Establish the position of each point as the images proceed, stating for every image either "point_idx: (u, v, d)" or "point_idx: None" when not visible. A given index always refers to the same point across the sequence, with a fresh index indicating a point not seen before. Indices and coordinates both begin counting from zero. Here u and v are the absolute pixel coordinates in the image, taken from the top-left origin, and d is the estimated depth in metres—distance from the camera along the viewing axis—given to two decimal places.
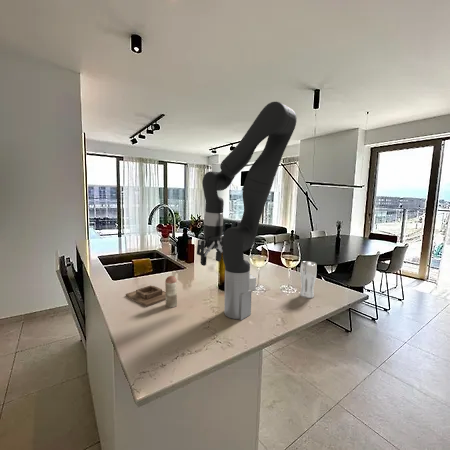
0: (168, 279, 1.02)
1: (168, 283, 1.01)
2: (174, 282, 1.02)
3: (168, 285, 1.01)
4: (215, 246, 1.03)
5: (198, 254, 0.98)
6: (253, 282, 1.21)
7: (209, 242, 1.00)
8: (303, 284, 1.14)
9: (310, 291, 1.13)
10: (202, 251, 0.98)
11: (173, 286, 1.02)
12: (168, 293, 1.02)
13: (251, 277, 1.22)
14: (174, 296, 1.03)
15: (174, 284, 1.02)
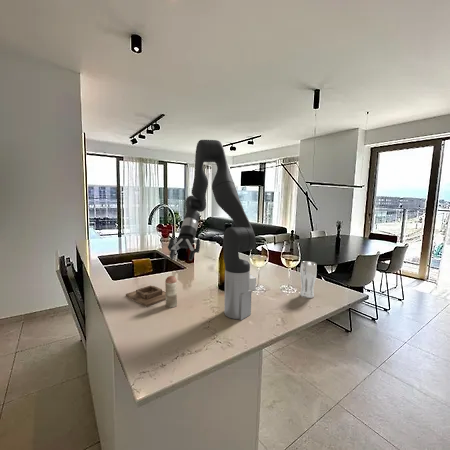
0: (168, 279, 1.02)
1: (168, 283, 1.01)
2: (174, 282, 1.02)
3: (168, 285, 1.01)
4: (185, 244, 1.17)
5: None
6: (253, 282, 1.21)
7: (179, 240, 1.19)
8: (303, 284, 1.14)
9: (310, 291, 1.13)
10: (169, 244, 1.18)
11: (173, 286, 1.02)
12: (168, 293, 1.02)
13: (251, 277, 1.22)
14: (174, 296, 1.03)
15: (174, 284, 1.02)
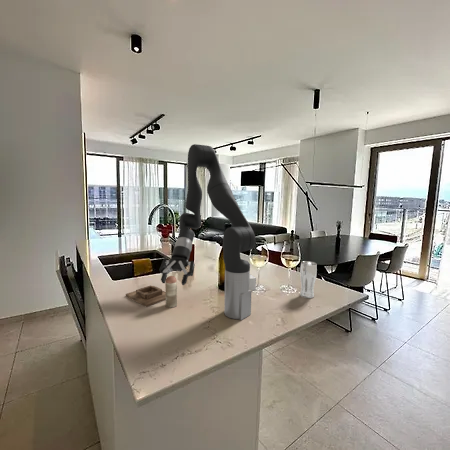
0: (168, 279, 1.02)
1: (168, 283, 1.01)
2: (174, 282, 1.02)
3: (168, 285, 1.01)
4: (178, 267, 1.09)
5: (160, 271, 1.10)
6: (253, 282, 1.21)
7: (171, 261, 1.11)
8: (303, 284, 1.14)
9: (310, 291, 1.13)
10: (161, 267, 1.09)
11: (173, 286, 1.02)
12: (168, 293, 1.02)
13: (251, 277, 1.22)
14: (174, 296, 1.03)
15: (174, 284, 1.02)
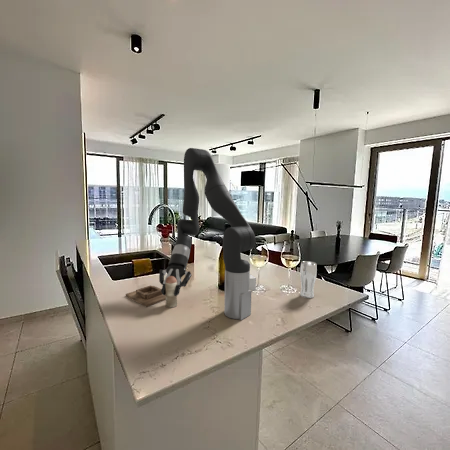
0: (168, 279, 1.02)
1: (168, 283, 1.01)
2: (174, 282, 1.02)
3: (168, 285, 1.01)
4: (174, 274, 1.06)
5: (160, 282, 1.06)
6: (253, 282, 1.21)
7: (168, 271, 1.07)
8: (303, 284, 1.14)
9: (310, 291, 1.13)
10: (160, 278, 1.06)
11: (173, 286, 1.02)
12: (168, 293, 1.02)
13: (251, 277, 1.22)
14: (174, 296, 1.02)
15: (174, 284, 1.02)
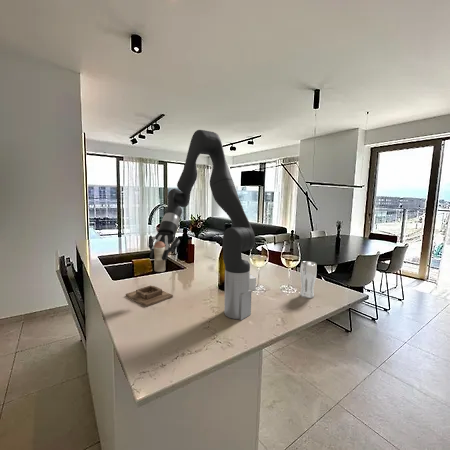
0: (157, 244, 1.04)
1: (156, 248, 1.04)
2: (162, 247, 1.04)
3: (156, 250, 1.04)
4: (163, 240, 1.08)
5: None
6: (253, 282, 1.21)
7: (157, 237, 1.10)
8: (303, 284, 1.14)
9: (310, 291, 1.13)
10: (149, 243, 1.08)
11: (162, 250, 1.04)
12: (156, 258, 1.04)
13: (251, 277, 1.22)
14: (162, 260, 1.05)
15: (162, 249, 1.04)
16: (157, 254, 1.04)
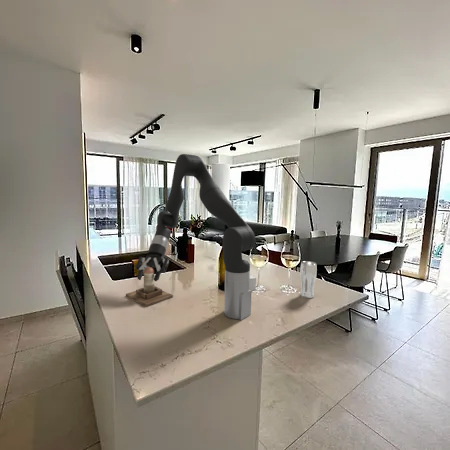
0: (146, 270, 1.10)
1: (145, 273, 1.09)
2: (151, 272, 1.10)
3: (145, 275, 1.10)
4: (152, 263, 1.14)
5: (137, 269, 1.14)
6: (253, 282, 1.21)
7: (146, 259, 1.15)
8: (303, 284, 1.14)
9: (310, 291, 1.13)
10: (137, 264, 1.14)
11: (151, 276, 1.10)
12: (146, 283, 1.10)
13: (251, 277, 1.22)
14: (151, 285, 1.11)
15: (151, 274, 1.10)
16: (146, 279, 1.10)
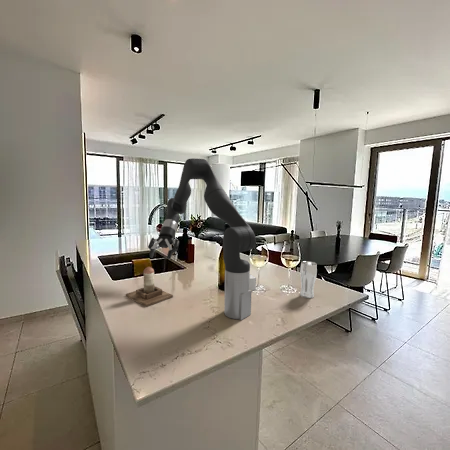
0: (146, 270, 1.10)
1: (145, 273, 1.09)
2: (151, 272, 1.10)
3: (145, 275, 1.09)
4: (164, 244, 1.25)
5: (149, 248, 1.26)
6: (253, 282, 1.21)
7: (158, 240, 1.27)
8: (303, 284, 1.14)
9: (310, 291, 1.13)
10: (149, 244, 1.26)
11: (151, 276, 1.10)
12: (146, 283, 1.10)
13: (251, 277, 1.22)
14: (151, 285, 1.11)
15: (151, 274, 1.10)
16: (146, 280, 1.10)
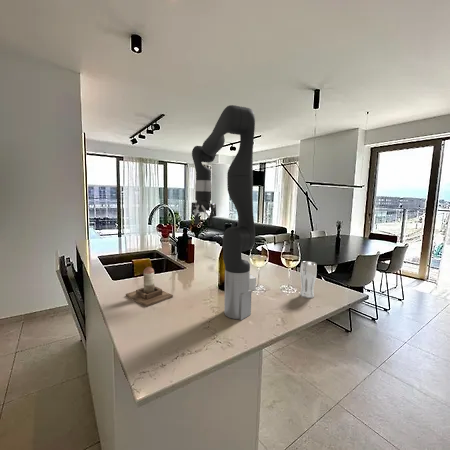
0: (146, 270, 1.10)
1: (145, 273, 1.09)
2: (151, 272, 1.10)
3: (145, 275, 1.09)
4: (202, 210, 1.20)
5: None
6: (253, 282, 1.21)
7: (197, 205, 1.22)
8: (303, 284, 1.14)
9: (310, 291, 1.13)
10: (192, 211, 1.25)
11: (151, 276, 1.10)
12: (146, 283, 1.10)
13: (251, 277, 1.22)
14: (151, 285, 1.11)
15: (151, 274, 1.10)
16: (146, 280, 1.10)
